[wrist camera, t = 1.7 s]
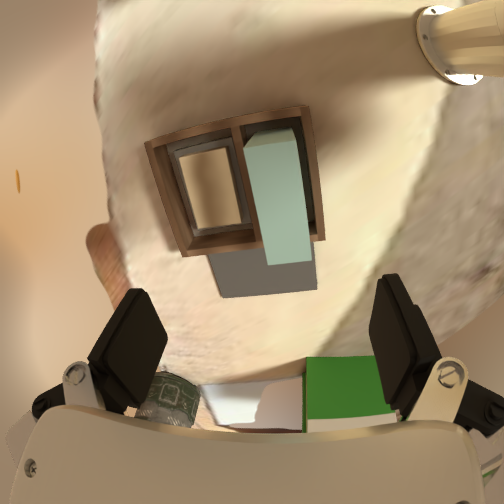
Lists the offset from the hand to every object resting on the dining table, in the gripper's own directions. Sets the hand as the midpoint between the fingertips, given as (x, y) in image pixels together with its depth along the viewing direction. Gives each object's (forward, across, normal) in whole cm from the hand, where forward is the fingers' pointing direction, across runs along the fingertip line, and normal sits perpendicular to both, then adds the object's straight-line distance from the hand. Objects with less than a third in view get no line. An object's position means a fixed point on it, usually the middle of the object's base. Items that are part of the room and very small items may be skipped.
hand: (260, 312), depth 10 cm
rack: (+27, +5, +2) cm, 28 cm away
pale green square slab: (+27, -1, +2) cm, 27 cm away
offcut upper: (+26, +8, +2) cm, 27 cm away
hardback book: (+28, -12, +45) cm, 54 cm away
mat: (+28, +3, +17) cm, 33 cm away
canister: (+28, +33, +56) cm, 71 cm away
